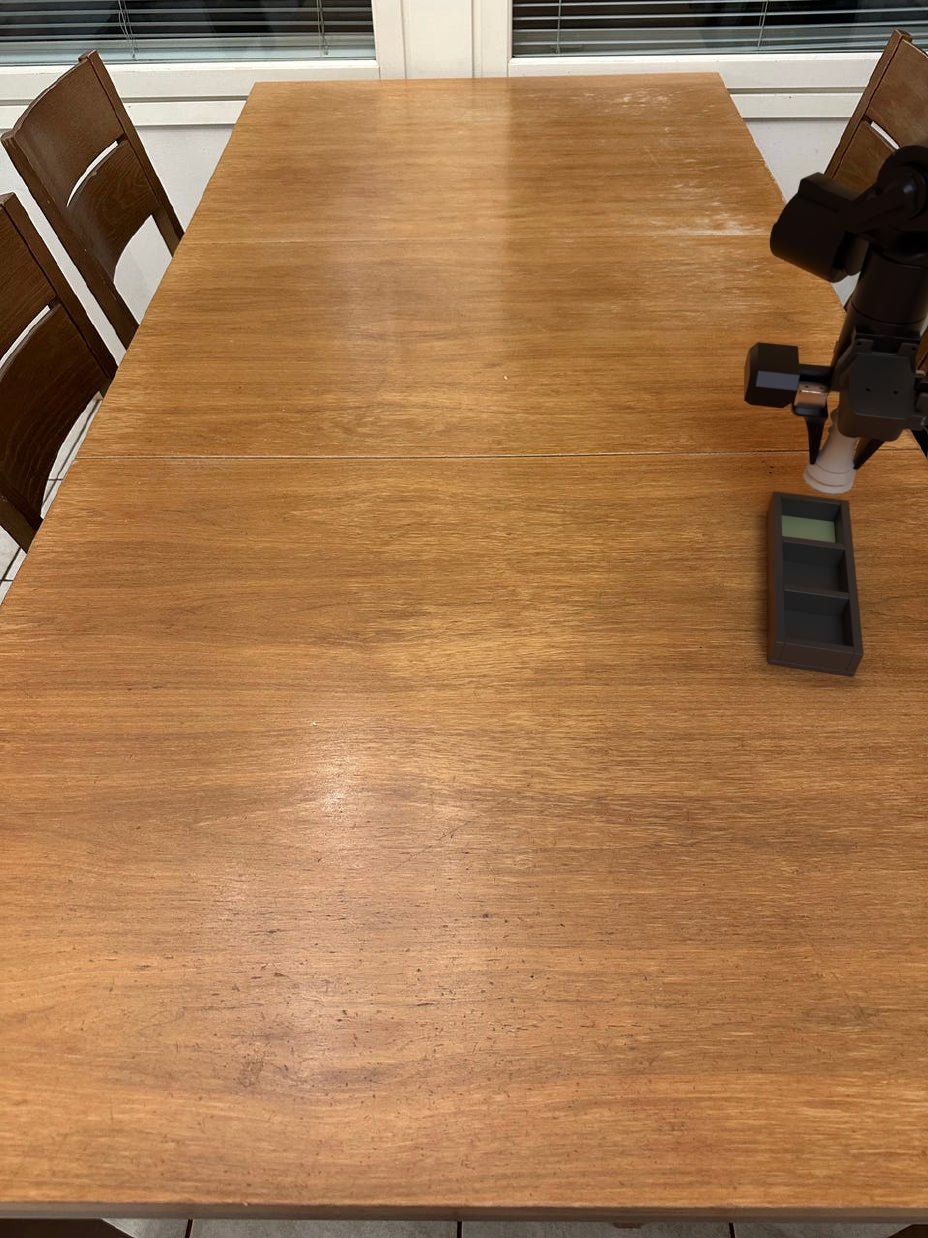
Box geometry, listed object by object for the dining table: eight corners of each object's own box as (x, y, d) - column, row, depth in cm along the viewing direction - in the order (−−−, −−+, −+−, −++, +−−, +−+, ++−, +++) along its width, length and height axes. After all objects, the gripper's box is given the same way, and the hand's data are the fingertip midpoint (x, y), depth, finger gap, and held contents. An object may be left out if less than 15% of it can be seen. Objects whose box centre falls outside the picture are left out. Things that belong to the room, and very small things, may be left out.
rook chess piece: (862, 491, 85) (891, 418, 79) (818, 502, 84) (844, 428, 79) (834, 462, 88) (860, 389, 82) (792, 471, 87) (815, 398, 81)
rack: (840, 523, 97) (848, 500, 95) (853, 677, 84) (863, 654, 81) (766, 513, 98) (773, 490, 96) (767, 664, 85) (775, 641, 82)
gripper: (767, 349, 69) (725, 510, 81) (1038, 376, 67) (954, 538, 78) (765, 274, 77) (727, 432, 88) (1009, 296, 74) (937, 455, 86)
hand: (832, 464), depth 85 cm, fingers closed on rook chess piece, 3 cm apart
